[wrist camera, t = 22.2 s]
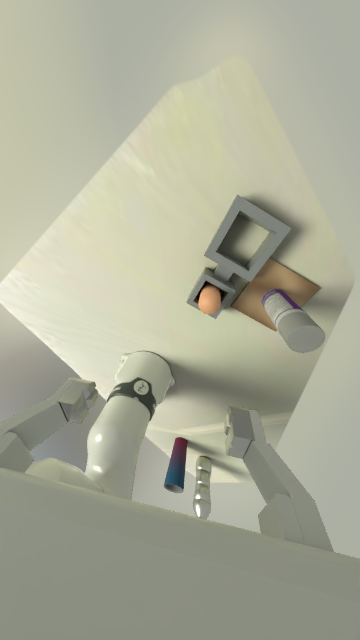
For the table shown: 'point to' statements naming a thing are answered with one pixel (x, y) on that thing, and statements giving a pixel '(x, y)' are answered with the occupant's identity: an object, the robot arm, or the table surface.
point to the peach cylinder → (209, 298)
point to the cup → (177, 467)
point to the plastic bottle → (202, 488)
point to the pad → (272, 278)
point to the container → (292, 322)
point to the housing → (231, 266)
